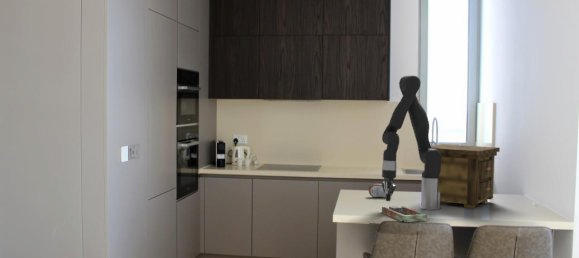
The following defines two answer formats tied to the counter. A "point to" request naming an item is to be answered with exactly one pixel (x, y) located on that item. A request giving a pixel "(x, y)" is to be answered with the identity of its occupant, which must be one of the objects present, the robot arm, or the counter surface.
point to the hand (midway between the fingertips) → (387, 200)
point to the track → (411, 216)
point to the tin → (377, 190)
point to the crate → (466, 173)
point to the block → (396, 209)
